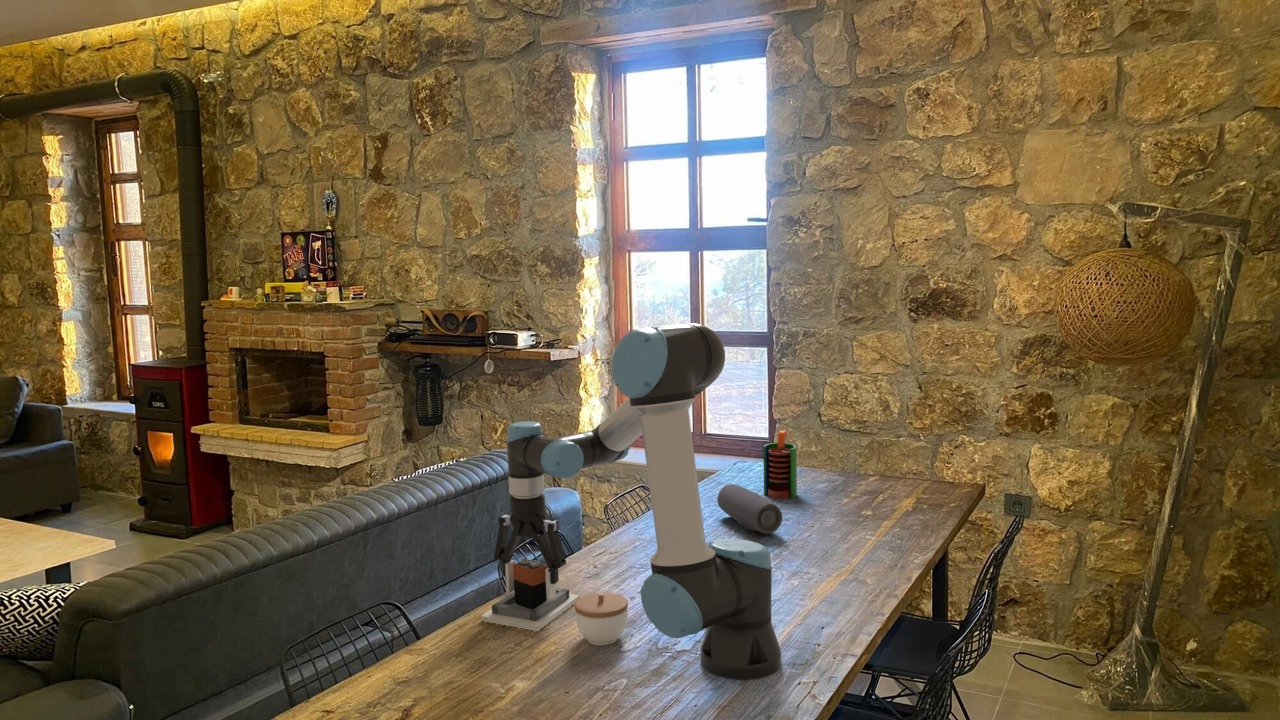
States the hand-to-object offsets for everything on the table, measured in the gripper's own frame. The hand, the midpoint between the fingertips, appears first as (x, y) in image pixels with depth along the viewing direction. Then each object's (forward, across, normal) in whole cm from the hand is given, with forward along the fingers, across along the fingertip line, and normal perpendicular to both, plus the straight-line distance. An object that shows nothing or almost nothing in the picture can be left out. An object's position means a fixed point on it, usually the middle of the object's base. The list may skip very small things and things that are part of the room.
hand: (531, 594), depth 199 cm
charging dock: (+4, 0, 0) cm, 4 cm away
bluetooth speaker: (+4, -25, -74) cm, 78 cm away
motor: (+4, -24, -108) cm, 111 cm away
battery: (+3, 0, 0) cm, 3 cm away
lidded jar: (+4, -21, +7) cm, 22 cm away
